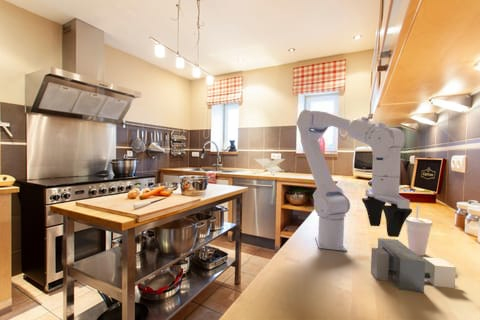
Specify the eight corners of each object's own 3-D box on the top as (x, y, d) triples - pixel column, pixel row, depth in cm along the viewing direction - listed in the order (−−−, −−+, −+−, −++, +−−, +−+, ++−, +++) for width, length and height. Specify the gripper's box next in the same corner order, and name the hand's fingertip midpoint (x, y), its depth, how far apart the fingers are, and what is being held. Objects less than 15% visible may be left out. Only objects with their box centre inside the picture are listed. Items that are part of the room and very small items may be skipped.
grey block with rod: (369, 271, 54) (370, 246, 54) (445, 278, 52) (447, 252, 52) (377, 280, 50) (378, 254, 50) (460, 288, 48) (461, 260, 48)
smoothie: (418, 248, 69) (420, 202, 68) (437, 257, 62) (439, 207, 62) (398, 247, 68) (400, 202, 68) (415, 257, 62) (417, 207, 62)
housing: (377, 262, 59) (378, 237, 58) (396, 264, 58) (397, 239, 57) (399, 289, 47) (400, 258, 47) (423, 292, 46) (425, 261, 46)
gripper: (355, 173, 63) (353, 221, 63) (386, 178, 48) (384, 241, 48) (381, 173, 62) (379, 222, 63) (420, 179, 48) (417, 242, 48)
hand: (383, 230), depth 55 cm, fingers open, 7 cm apart
